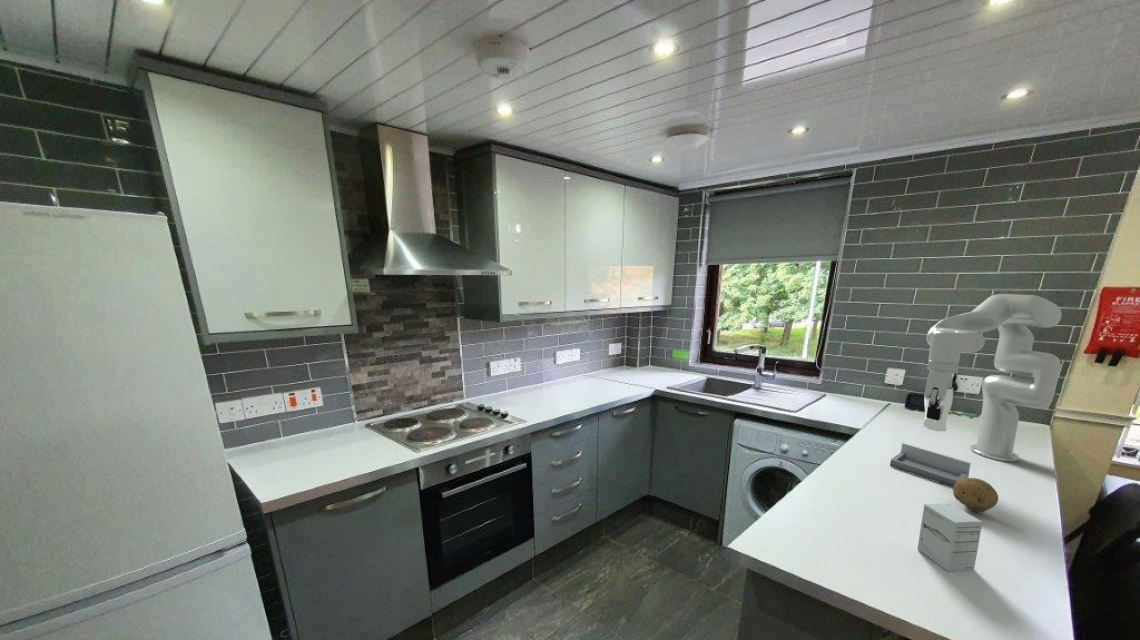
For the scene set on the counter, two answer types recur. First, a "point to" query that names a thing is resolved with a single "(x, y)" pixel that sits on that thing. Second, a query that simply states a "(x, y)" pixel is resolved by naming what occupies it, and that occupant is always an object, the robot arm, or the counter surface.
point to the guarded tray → (931, 465)
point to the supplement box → (949, 536)
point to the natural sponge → (975, 494)
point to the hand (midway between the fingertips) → (935, 416)
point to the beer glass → (945, 408)
